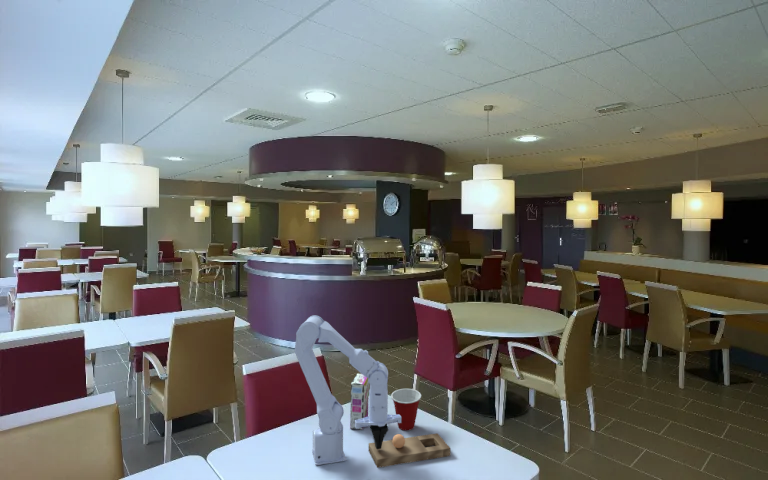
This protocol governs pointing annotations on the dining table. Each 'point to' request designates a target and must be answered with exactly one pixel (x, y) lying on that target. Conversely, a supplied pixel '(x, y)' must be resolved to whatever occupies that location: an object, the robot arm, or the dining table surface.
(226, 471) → the dining table surface
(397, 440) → the ball
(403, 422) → the plastic cup
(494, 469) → the dining table surface
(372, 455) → the deck
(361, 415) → the candy bar box
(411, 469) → the dining table surface
